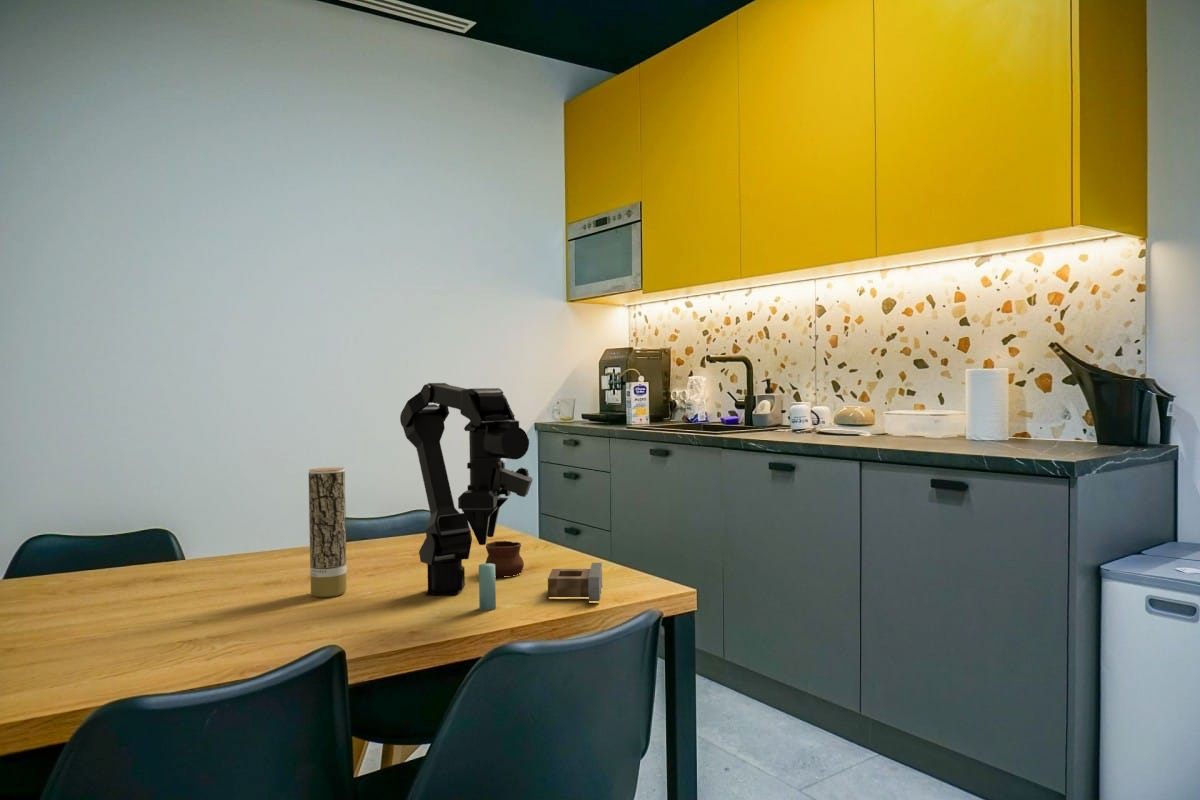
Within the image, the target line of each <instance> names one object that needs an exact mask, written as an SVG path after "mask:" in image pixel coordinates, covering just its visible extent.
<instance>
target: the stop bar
mask: <svg viewBox="0 0 1200 800" xmlns="http://www.w3.org/2000/svg"><path fill="white" fill-rule="evenodd" d="M589 569H590V573H589V576H588V592H589V599H588V602H589V601H599V600H600V601H601V597H600V594H601V595H602V592H601V588H602V589H603V562H591V566H590V568H589Z"/></svg>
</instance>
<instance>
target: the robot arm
mask: <svg viewBox="0 0 1200 800" xmlns="http://www.w3.org/2000/svg"><path fill="white" fill-rule="evenodd" d="M449 407H450V408H452V409H457V410H458V411H460V415H461V416H463V417H464V418H466V419H468V420H469V422H468V423H467V424H465V426H464V427H463V430H464V431H465V432H468V433H469V436H468V438H469V443H468V444H469V461H468V462H467V464H466V469H469V484H468V485H467V490H465V491H464V492H463V493H461V495H459V497H457V499H458V500H457V501H458V502H457V506H458V507H457V509H459V510H461V511H462V512H459V511H458V510H457V509H456V508H455V502H454V498H453V496H452V495H453V494H452V491H451V486H450V481H449V476H448V472H447V468H446V462H445V459H444V454H443V450H442V445H441V439H442V436H443V434H444V431H445V421H446V419H447V418H448V417H449V414H450V409H449ZM399 419H400V425H401V427H402V429H403V432H404V435H405V438H406V439H407V440H408V441H409V442H410V443H411V444H412V445H413V447H415V448H416V449H415V450H416V452H417V457H418V462H419V465H420V470H421V475H422V481H423V485H424V489H425V495H426V499H427V503H428V507H429V512H430V516H429V519H428V521H427V525H426V527H425V536H426V537H425V539H424V541H423V543H422V545H421V546H420V548H419V551H418V556H419V559H420V562H421V563H423V564H426V565H427V589H426V591H424V593H425V595H427V596H429V595H430V596H431V595H433V596H435V595H438V596H440V595H443V596H444V595H446V596H448V595H450V596H451V595H452V596H453V595H454V596H455V595H459V593H460V592H461V591H462V590H463V589H464V587H465V586H466V582H465V581H466V580H465V579H466V578H465V574H466V572H465V571H466V570H465V566H464V565H463V561H462V560H469V558H470V552H471V547H472V543H473V536H472V532H473V535H474V536H475V538H476V541H477V543H478V545H479V546H486V544H487V539H488V538H493V537H494V535H495V531H496V527H497V526H496V525H497V522H498V517H499V512H500V509H501V507H502V506H504V505H503V504H505V503H506V501H508V499H509V496H510V495H512V494H511V493H514V494H516V495H517V497H522V498H525V497H526V496H527V495H528V494H529V490H530V488H531V485H532V483H533V479H534V478H533V477H531V476H530V474H529V469H527V468H525V467H520V468H518V469H517V470H516V471H514V470H513V469H507V468H505V467H506V464H505V462H504V460H502V459H505V460H506V459H508V460H519V459H521V458H523V457H524V456H525V455H526V454H527V452H528V450H529V446H530V439H529V437H528V433H526V431H525V430H524V429H523V428H522V427H520V420H516V418H515V414H514V412H513V410H512V408H511V406H510V404H509V402H508V399H507V397H506V395H504V391H503V390H502V389H501V388H498V387H497V388H493V387H492V388H488V387H486V388H478V387H477V388H463V387H460V386H455V385H452V384H451V385H450V384H449V383H448V384H447V383H446V382H427V384H424V385H422V388H421V389H420V391H419V392H418V393H417V394H415V395H414V396H412V397H411V398H409V399H408V400H407V402H406V403H405V405H404V407H403V408H402V410H401V412H400V418H399ZM502 495H504V496H505V497H502ZM471 530H472V531H471Z"/></svg>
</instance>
